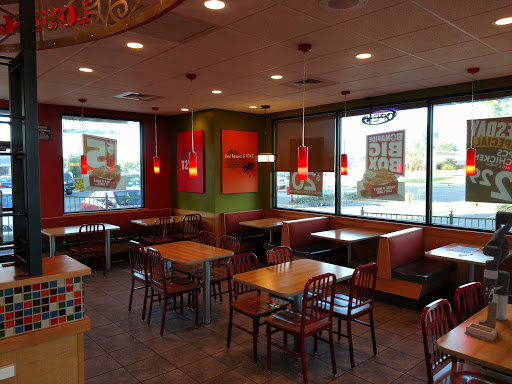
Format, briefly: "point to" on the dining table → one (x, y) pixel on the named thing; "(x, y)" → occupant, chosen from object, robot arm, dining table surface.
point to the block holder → (481, 332)
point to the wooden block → (490, 316)
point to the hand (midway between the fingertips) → (488, 301)
